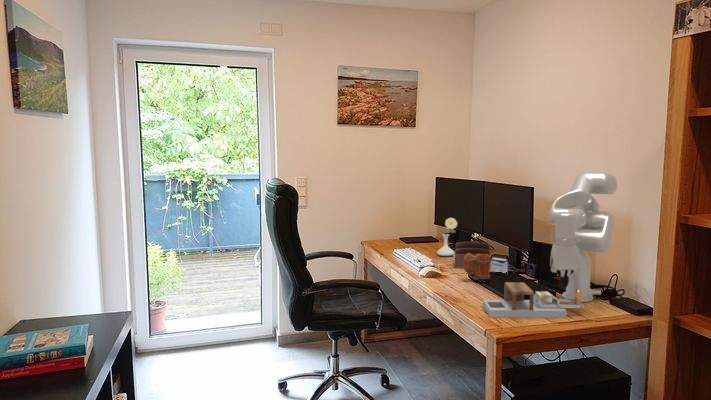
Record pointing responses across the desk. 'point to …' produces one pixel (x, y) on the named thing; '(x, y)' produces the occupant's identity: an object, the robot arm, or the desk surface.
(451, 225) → the flower in vase
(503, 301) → the track deck
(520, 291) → the tunnel
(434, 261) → the desk surface
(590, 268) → the robot arm
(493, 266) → the box
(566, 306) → the sled
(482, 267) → the mug
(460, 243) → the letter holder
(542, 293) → the block
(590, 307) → the desk surface
